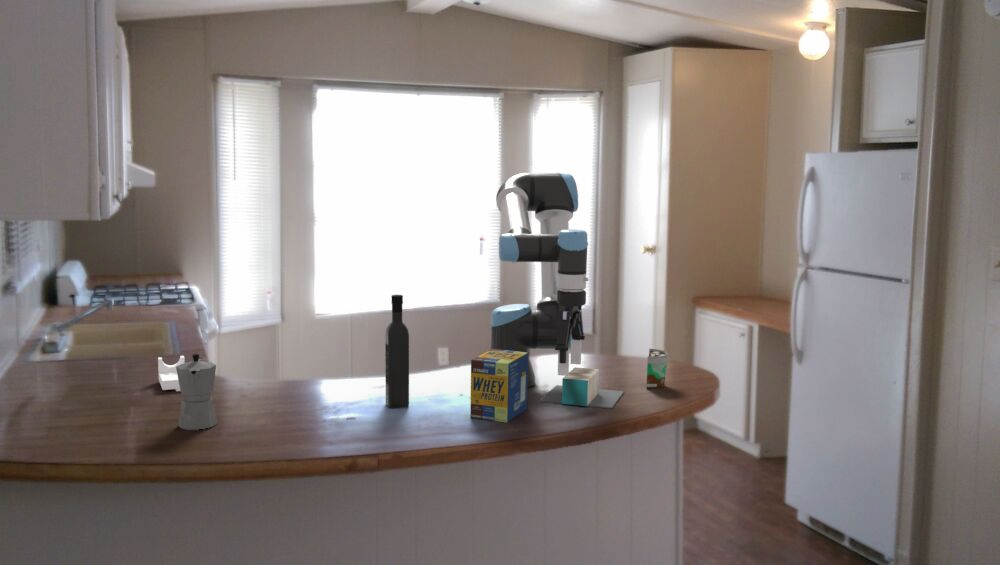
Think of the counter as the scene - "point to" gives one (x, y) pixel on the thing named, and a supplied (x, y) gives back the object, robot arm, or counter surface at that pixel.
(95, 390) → the counter surface
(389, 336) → the wine bottle
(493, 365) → the protein box
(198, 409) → the coffeepot
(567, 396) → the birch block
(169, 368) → the bracket
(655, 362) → the food container
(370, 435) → the counter surface
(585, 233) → the robot arm
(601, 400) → the mat
